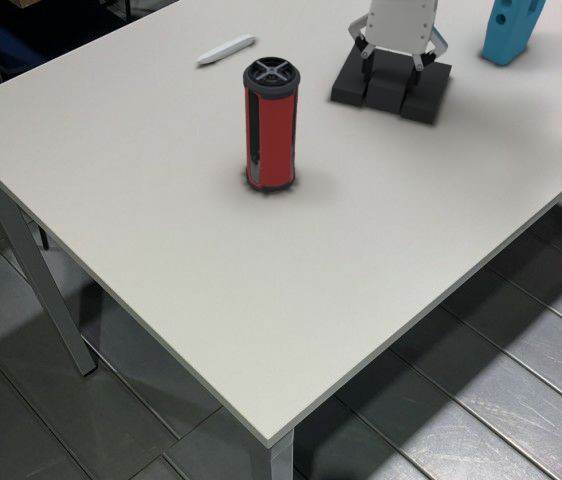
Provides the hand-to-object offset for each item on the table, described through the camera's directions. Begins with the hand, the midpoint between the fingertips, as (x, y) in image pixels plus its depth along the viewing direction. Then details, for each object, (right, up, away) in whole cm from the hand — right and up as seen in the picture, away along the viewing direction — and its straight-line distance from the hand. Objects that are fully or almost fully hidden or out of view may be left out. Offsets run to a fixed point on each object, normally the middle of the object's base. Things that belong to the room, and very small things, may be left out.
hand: (389, 81), depth 105 cm
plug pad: (0, -2, +3) cm, 4 cm away
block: (+23, +11, +12) cm, 28 cm away
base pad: (+1, +1, +5) cm, 5 cm away
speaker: (-20, -19, -8) cm, 29 cm away
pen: (-28, +9, +9) cm, 31 cm away
